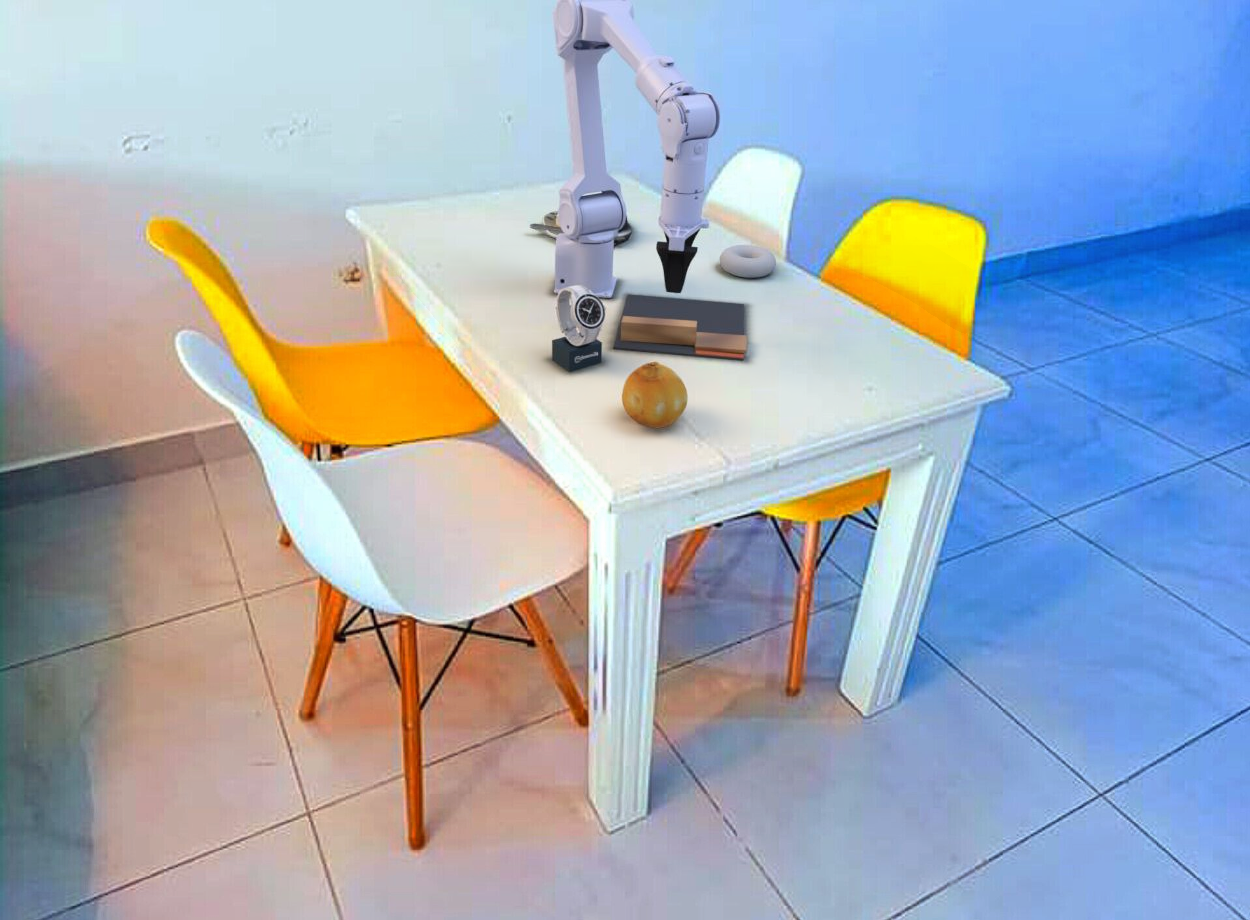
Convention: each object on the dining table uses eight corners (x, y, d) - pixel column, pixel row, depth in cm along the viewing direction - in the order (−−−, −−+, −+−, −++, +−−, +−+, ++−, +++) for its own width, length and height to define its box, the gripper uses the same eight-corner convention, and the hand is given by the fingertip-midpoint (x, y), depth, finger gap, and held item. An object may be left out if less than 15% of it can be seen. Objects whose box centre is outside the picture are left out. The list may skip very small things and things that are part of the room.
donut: (715, 277, 159) (773, 283, 157) (717, 258, 157) (775, 264, 155) (721, 258, 167) (776, 263, 166) (723, 239, 165) (779, 244, 164)
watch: (577, 377, 126) (578, 303, 120) (545, 355, 131) (545, 282, 125) (610, 367, 128) (612, 294, 122) (577, 346, 134) (578, 275, 128)
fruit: (601, 408, 114) (636, 363, 110) (624, 385, 121) (658, 342, 116) (651, 450, 114) (688, 407, 110) (671, 425, 121) (707, 384, 117)
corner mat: (613, 348, 134) (613, 345, 133) (627, 295, 150) (628, 292, 150) (743, 360, 132) (743, 357, 132) (743, 305, 149) (744, 302, 149)
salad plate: (533, 250, 166) (532, 225, 163) (526, 218, 180) (525, 194, 178) (638, 248, 169) (639, 224, 166) (622, 217, 184) (623, 194, 181)
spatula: (746, 339, 137) (748, 320, 135) (746, 353, 133) (748, 334, 131) (623, 330, 138) (624, 311, 137) (619, 344, 134) (620, 325, 132)
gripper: (710, 206, 118) (700, 304, 126) (714, 175, 131) (705, 265, 138) (656, 202, 119) (650, 299, 126) (664, 171, 131) (658, 261, 138)
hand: (675, 281), depth 132 cm, fingers open, 7 cm apart
